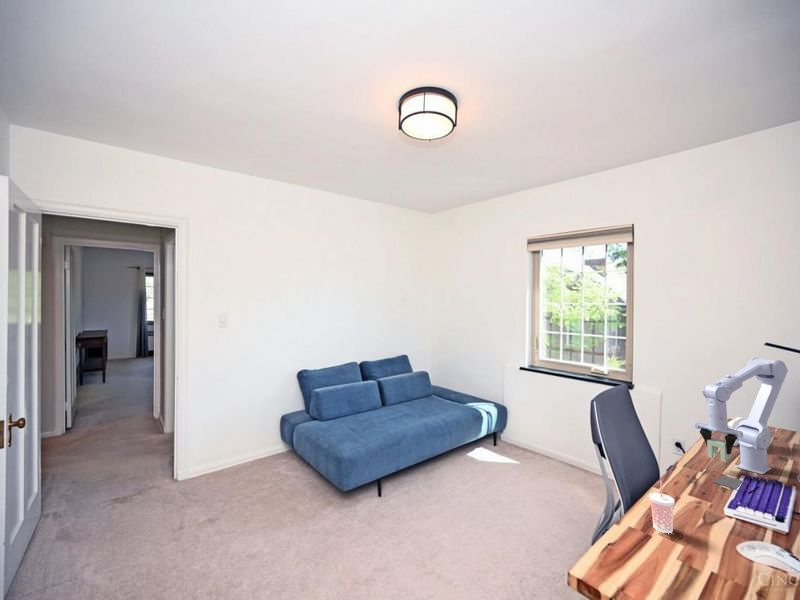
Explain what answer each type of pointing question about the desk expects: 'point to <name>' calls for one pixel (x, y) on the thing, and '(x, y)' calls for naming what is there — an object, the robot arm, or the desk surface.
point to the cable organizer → (735, 423)
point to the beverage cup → (662, 511)
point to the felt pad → (728, 482)
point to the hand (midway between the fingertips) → (719, 451)
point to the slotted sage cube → (713, 449)
